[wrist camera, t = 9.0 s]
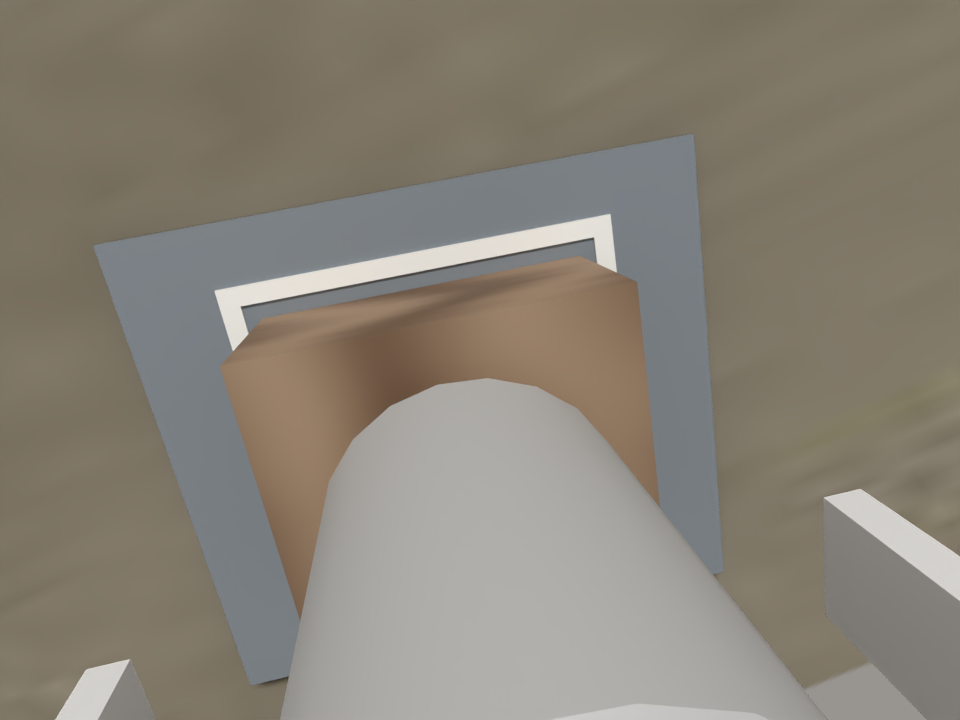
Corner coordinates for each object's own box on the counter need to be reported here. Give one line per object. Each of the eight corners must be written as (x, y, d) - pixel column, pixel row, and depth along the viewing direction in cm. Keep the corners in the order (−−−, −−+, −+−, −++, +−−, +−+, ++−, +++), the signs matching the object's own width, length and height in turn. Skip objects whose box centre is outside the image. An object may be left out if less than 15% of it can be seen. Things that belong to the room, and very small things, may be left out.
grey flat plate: (682, 135, 20) (695, 133, 19) (713, 559, 25) (725, 573, 24) (105, 242, 19) (91, 246, 18) (255, 669, 24) (249, 687, 23)
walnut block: (579, 255, 20) (637, 281, 15) (614, 527, 23) (671, 619, 18) (261, 318, 19) (219, 366, 15) (340, 591, 22) (326, 704, 18)
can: (432, 673, 18) (503, 1564, 6) (262, 476, 16) (-100, 1323, 4) (661, 530, 17) (1165, 1208, 6) (521, 307, 15) (909, 722, 4)
